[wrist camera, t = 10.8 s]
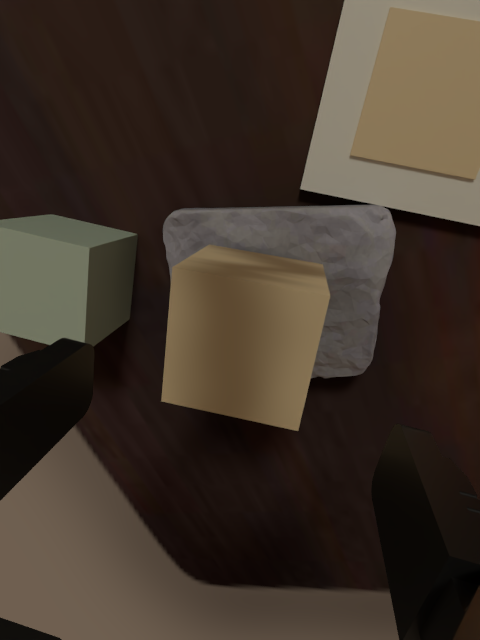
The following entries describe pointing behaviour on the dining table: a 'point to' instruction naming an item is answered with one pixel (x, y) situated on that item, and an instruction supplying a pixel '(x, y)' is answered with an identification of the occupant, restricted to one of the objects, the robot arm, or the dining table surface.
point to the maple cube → (244, 334)
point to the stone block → (312, 246)
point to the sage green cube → (64, 278)
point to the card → (402, 109)
